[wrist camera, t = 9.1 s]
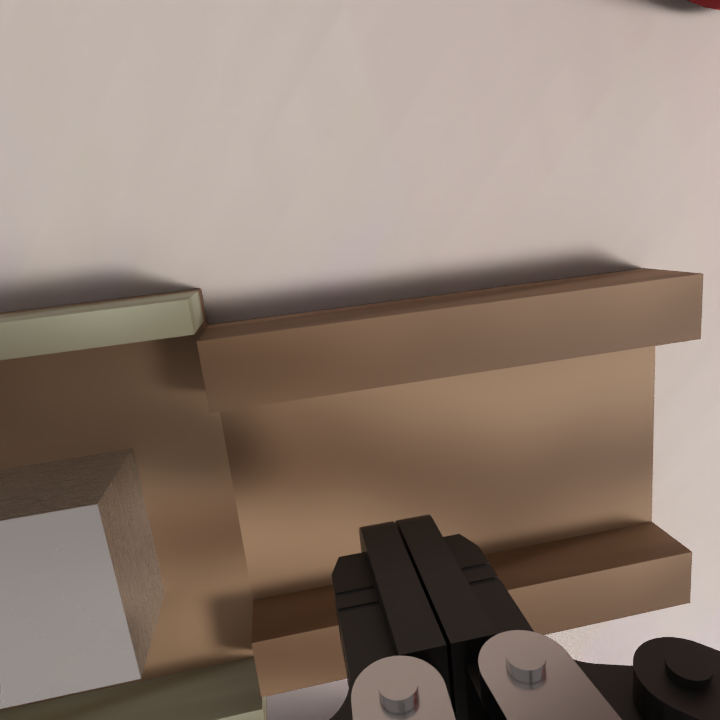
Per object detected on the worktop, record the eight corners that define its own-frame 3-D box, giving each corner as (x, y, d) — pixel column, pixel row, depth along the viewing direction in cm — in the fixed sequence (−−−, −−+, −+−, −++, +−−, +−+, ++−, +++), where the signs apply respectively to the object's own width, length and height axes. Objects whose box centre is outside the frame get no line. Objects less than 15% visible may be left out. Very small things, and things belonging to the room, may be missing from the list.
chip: (-48, 477, 14) (-134, 544, 11) (132, 448, 15) (97, 503, 12) (-1, 625, 15) (-69, 723, 12) (165, 592, 16) (141, 678, 13)
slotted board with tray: (-358, 356, 13) (-506, 385, 11) (643, 234, 17) (710, 234, 14) (-186, 758, 16) (-269, 855, 13) (638, 583, 19) (693, 634, 17)
